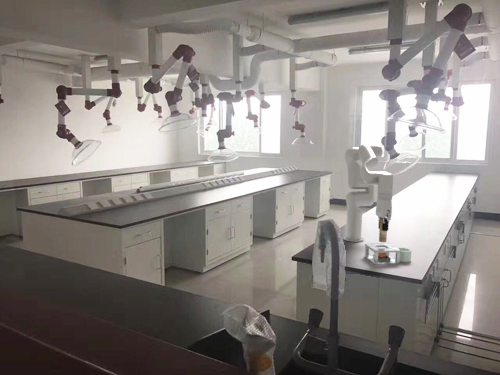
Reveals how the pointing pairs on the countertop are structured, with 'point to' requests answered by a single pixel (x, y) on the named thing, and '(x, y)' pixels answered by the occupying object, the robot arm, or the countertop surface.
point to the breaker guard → (376, 250)
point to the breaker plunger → (382, 255)
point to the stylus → (382, 232)
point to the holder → (405, 255)
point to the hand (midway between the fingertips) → (383, 229)
